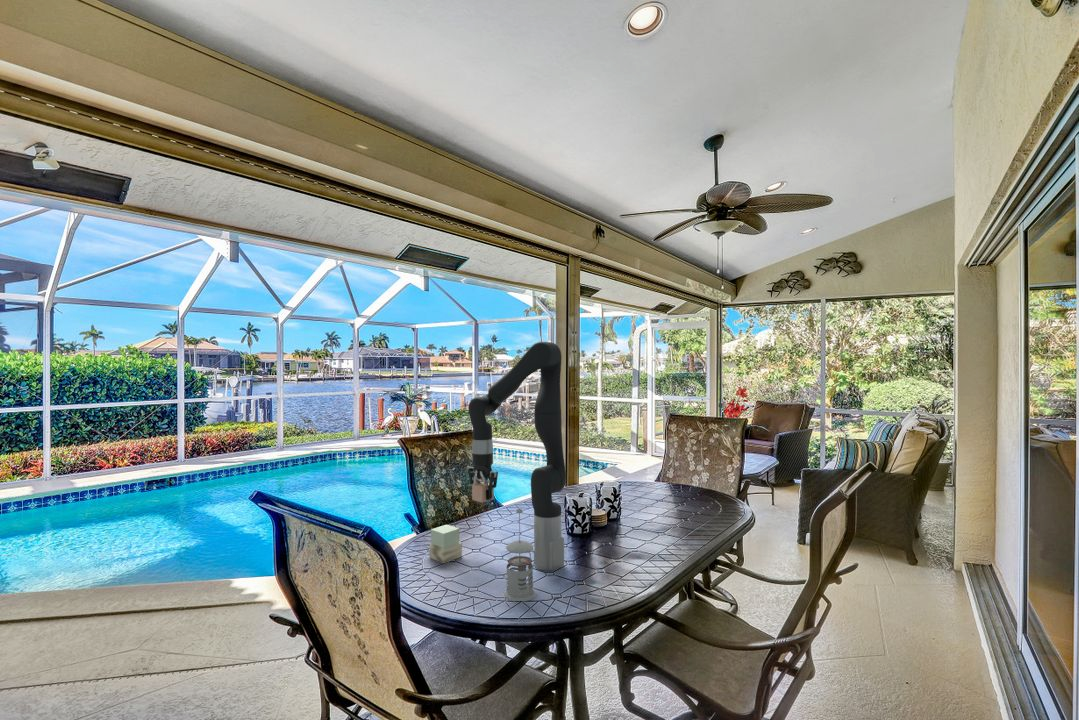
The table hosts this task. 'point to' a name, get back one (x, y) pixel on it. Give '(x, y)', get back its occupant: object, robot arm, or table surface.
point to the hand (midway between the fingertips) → (482, 497)
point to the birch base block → (446, 552)
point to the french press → (520, 571)
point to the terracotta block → (480, 492)
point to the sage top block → (445, 536)
